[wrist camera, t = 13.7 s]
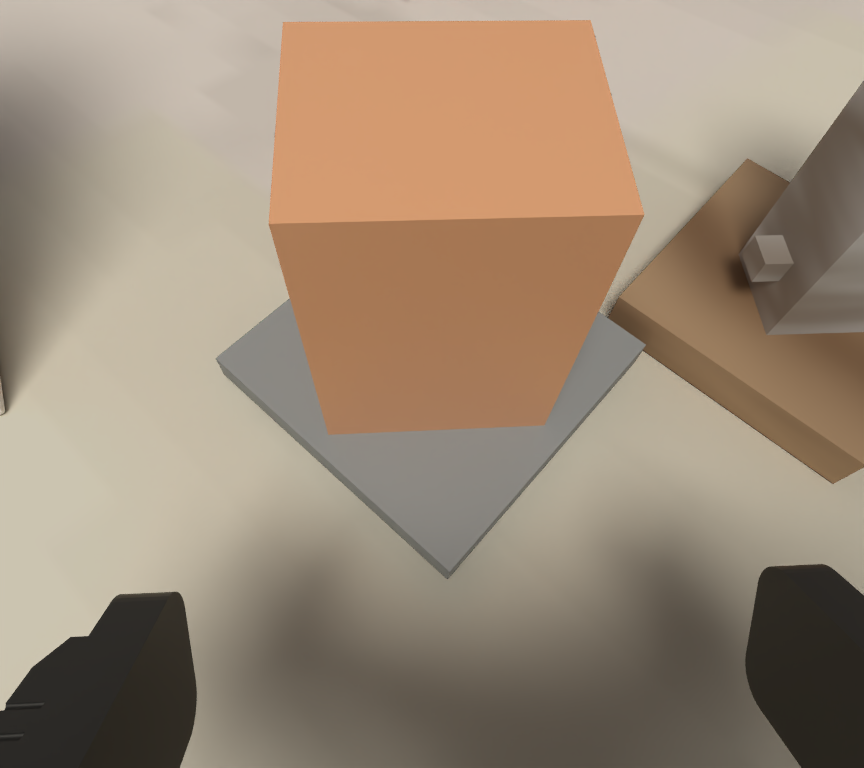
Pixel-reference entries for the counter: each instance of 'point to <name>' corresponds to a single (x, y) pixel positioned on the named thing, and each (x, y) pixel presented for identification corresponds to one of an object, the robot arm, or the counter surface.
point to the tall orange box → (446, 215)
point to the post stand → (771, 301)
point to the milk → (1, 400)
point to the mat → (425, 439)
